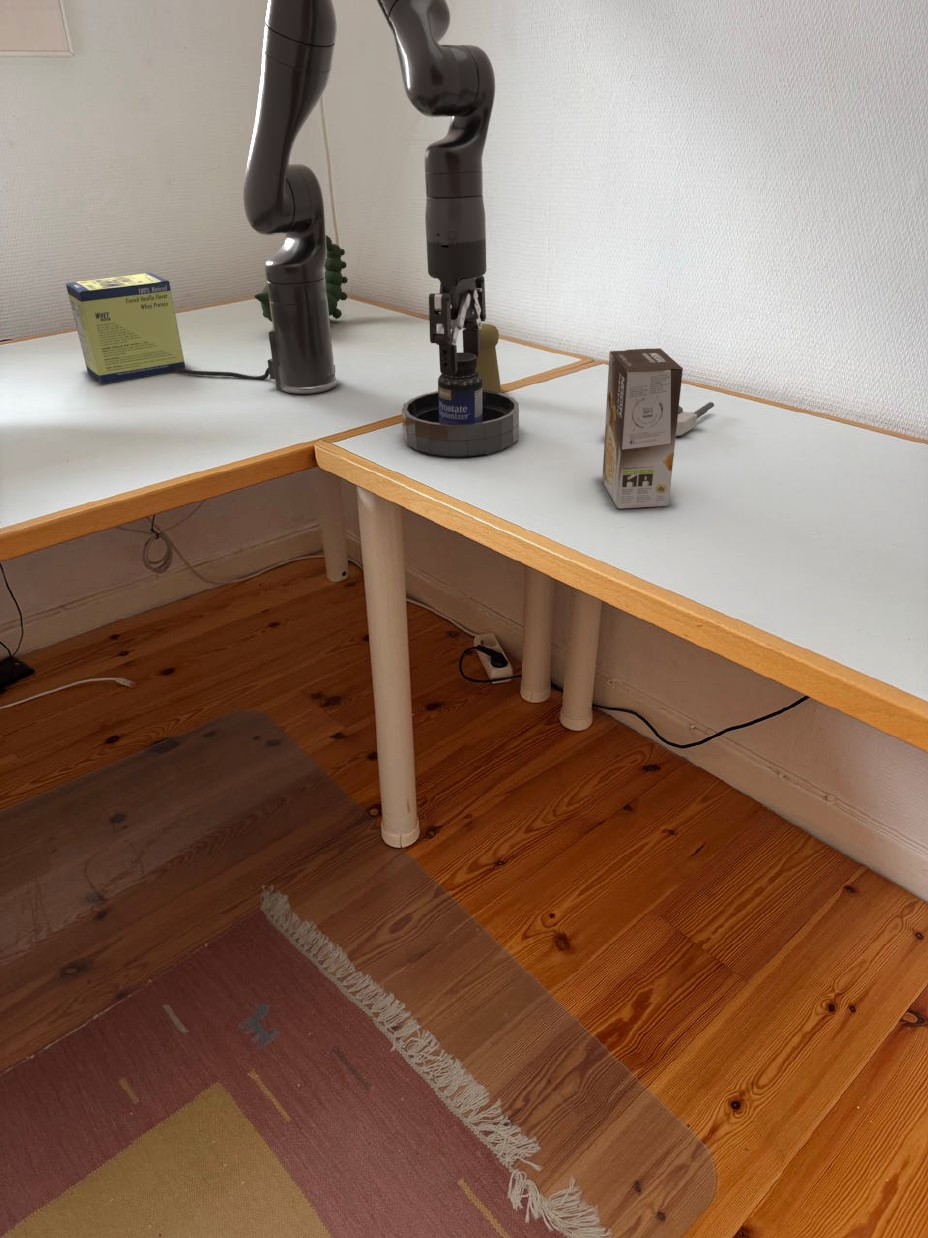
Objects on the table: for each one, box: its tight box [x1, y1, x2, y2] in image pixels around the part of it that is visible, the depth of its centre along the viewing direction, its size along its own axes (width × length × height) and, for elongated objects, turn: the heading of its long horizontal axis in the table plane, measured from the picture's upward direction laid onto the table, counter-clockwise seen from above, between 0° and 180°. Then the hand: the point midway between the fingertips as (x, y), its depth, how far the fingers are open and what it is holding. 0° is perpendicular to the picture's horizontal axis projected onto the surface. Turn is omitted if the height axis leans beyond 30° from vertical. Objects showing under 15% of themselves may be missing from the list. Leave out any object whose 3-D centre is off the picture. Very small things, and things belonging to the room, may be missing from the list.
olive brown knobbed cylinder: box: [475, 323, 502, 393], centre depth 135 cm, size 6×6×11 cm
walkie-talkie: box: [676, 401, 715, 437], centre depth 121 cm, size 9×4×20 cm
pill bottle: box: [437, 351, 482, 424], centre depth 118 cm, size 6×6×11 cm
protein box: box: [65, 272, 187, 385], centre depth 152 cm, size 10×16×16 cm
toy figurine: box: [254, 234, 348, 325], centre depth 176 cm, size 9×19×25 cm
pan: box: [401, 390, 520, 458], centre depth 120 cm, size 16×16×5 cm
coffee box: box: [601, 347, 684, 510], centre depth 99 cm, size 9×6×16 cm
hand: (460, 365), depth 116 cm, fingers open, 8 cm apart
